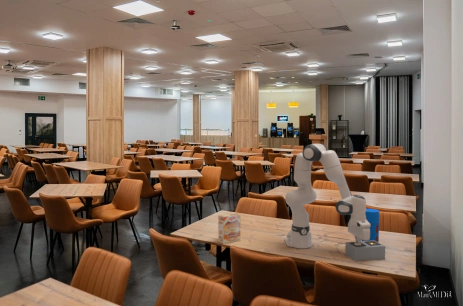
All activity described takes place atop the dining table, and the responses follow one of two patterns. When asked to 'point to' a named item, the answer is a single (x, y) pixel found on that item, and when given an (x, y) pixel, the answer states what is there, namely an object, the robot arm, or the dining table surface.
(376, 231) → the thermos
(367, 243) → the socket block
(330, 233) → the dining table surface
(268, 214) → the dining table surface
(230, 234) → the coffeecake box
